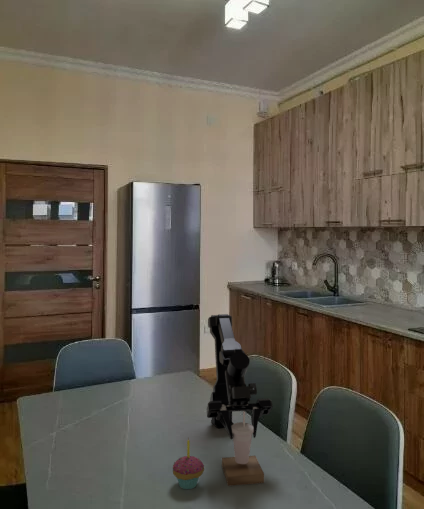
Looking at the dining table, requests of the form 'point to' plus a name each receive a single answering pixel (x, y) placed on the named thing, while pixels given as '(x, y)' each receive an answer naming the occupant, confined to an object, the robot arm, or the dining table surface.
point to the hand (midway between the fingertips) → (243, 438)
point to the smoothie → (242, 440)
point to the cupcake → (188, 469)
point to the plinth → (242, 471)
